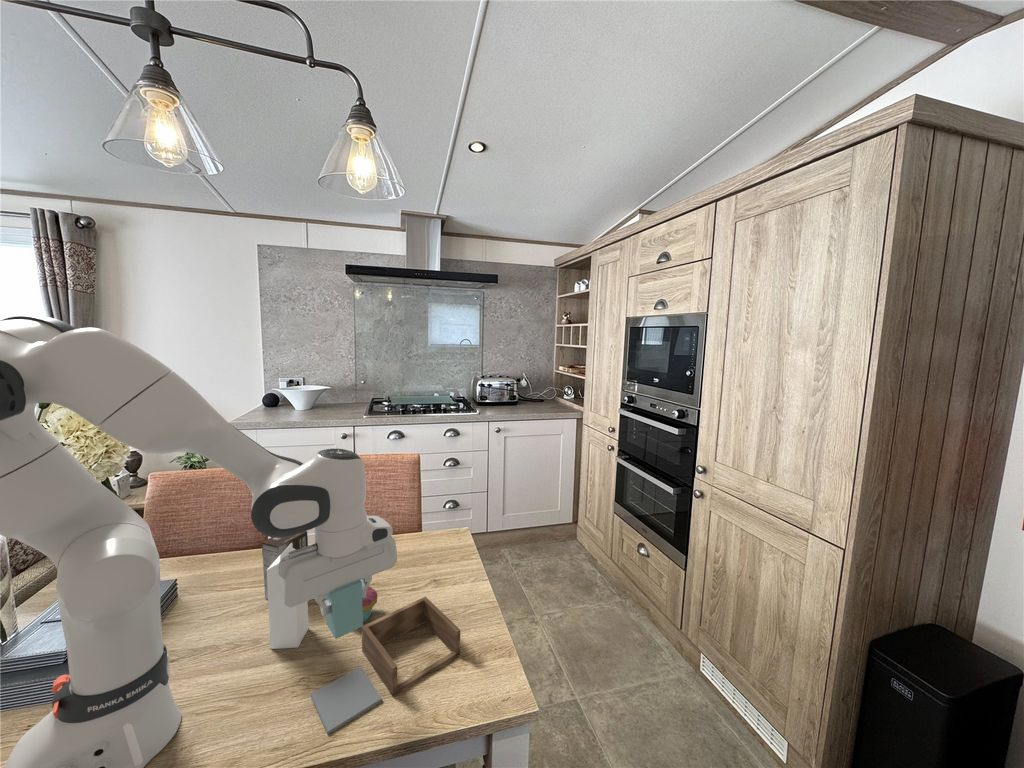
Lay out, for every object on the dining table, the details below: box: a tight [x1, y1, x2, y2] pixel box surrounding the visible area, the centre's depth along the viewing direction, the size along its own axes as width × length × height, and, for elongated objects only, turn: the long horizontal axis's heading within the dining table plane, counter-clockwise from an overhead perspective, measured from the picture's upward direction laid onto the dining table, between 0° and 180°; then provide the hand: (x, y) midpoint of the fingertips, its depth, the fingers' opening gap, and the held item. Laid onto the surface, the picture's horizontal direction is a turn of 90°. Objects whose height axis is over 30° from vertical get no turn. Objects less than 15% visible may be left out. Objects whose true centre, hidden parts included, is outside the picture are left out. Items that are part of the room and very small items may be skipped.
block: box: [324, 580, 364, 640], centre depth 75 cm, size 5×5×9 cm
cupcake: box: [362, 585, 378, 622], centre depth 99 cm, size 9×8×12 cm
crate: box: [361, 596, 461, 697], centre depth 89 cm, size 16×15×6 cm
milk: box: [267, 543, 310, 650], centre depth 91 cm, size 6×6×22 cm
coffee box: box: [261, 530, 309, 600], centre depth 108 cm, size 9×6×16 cm
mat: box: [310, 666, 383, 735], centre depth 77 cm, size 10×10×1 cm
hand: (344, 605), depth 75 cm, fingers closed on block, 5 cm apart
